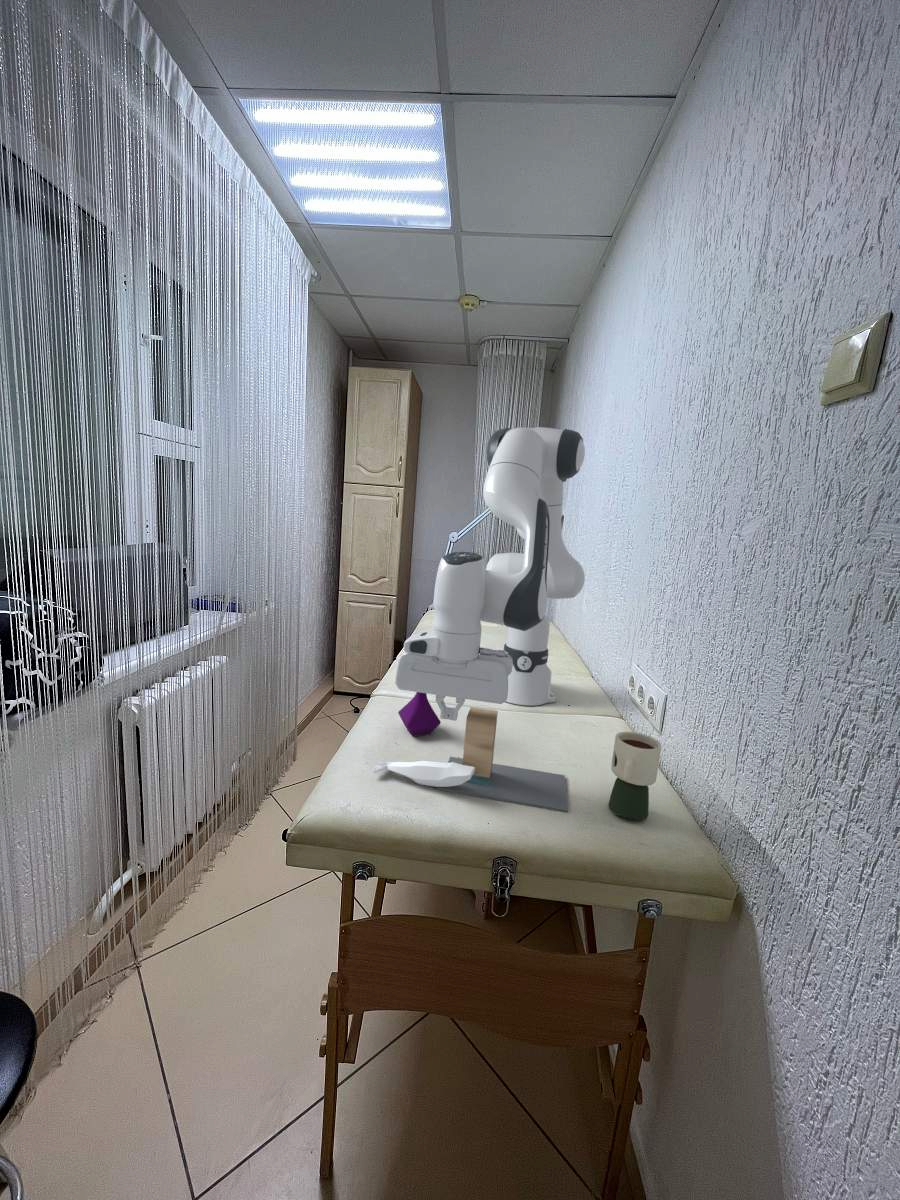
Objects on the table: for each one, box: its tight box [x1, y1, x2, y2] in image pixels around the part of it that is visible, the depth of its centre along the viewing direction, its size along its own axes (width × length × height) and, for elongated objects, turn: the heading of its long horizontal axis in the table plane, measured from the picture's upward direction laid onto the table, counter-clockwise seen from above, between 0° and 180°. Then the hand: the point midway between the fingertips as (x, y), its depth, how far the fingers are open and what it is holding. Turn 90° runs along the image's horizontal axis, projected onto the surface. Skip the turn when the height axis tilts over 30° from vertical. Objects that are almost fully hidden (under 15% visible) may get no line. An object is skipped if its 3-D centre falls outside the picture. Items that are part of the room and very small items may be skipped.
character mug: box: [607, 731, 662, 821], centre depth 83 cm, size 11×7×13 cm, turn 147°
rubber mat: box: [437, 756, 569, 813], centre depth 90 cm, size 12×22×1 cm, turn 80°
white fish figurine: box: [372, 757, 476, 788], centre depth 87 cm, size 6×18×4 cm, turn 71°
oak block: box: [462, 706, 499, 786], centre depth 90 cm, size 5×5×12 cm
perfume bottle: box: [397, 692, 441, 737], centre depth 108 cm, size 8×8×18 cm
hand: (448, 718), depth 90 cm, fingers closed
